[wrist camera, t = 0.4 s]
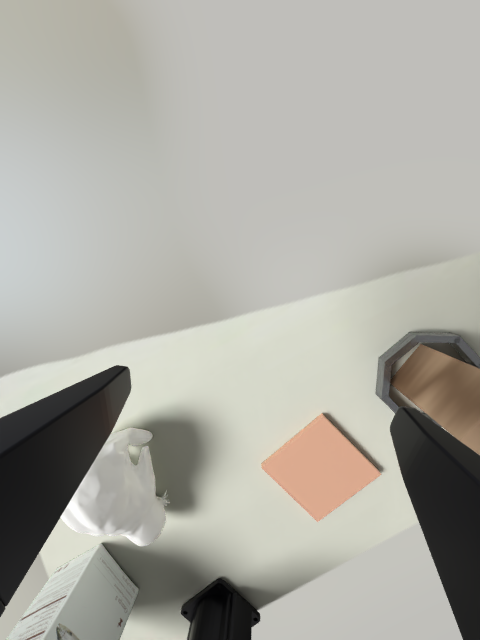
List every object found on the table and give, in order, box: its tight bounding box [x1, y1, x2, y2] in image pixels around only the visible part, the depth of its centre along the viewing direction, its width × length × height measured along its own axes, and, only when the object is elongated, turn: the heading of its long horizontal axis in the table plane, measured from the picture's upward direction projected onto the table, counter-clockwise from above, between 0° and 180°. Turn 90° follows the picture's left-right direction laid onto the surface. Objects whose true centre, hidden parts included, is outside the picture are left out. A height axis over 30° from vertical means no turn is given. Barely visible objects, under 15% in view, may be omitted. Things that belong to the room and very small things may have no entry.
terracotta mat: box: [262, 414, 381, 522], centre depth 26 cm, size 8×8×1 cm
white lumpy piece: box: [61, 427, 170, 546], centre depth 24 cm, size 6×8×12 cm
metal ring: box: [376, 332, 480, 427], centre depth 24 cm, size 8×8×1 cm
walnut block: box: [390, 344, 480, 455], centre depth 20 cm, size 4×4×9 cm
